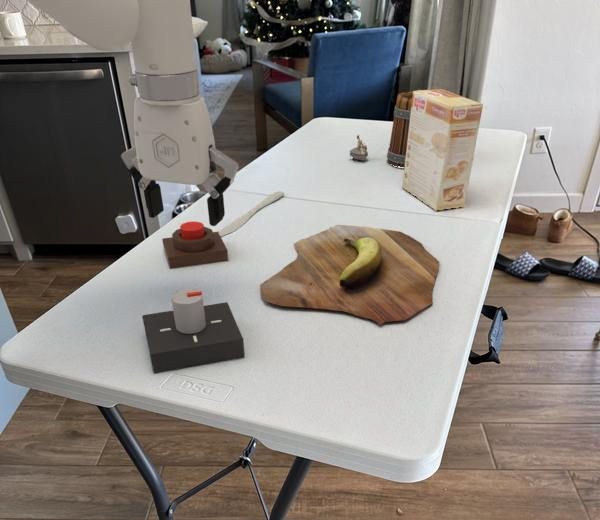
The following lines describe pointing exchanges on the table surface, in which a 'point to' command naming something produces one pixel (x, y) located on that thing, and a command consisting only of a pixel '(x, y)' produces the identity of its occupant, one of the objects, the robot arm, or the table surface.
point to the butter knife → (249, 214)
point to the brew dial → (188, 311)
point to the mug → (400, 130)
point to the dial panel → (193, 339)
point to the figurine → (359, 151)
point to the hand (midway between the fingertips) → (186, 218)
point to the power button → (192, 230)
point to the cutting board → (357, 274)
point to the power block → (194, 249)
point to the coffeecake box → (441, 147)
